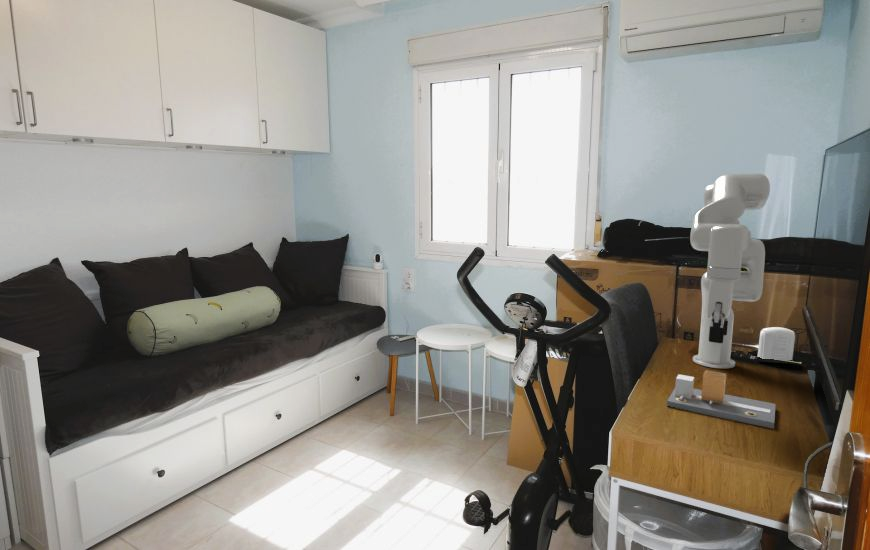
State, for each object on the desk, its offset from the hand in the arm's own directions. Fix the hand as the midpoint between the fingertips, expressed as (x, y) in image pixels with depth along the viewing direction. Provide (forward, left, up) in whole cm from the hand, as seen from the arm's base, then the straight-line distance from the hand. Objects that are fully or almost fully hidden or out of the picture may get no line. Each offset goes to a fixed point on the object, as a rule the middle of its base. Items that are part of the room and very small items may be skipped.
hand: (717, 338), depth 134 cm
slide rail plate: (0, +2, -19) cm, 19 cm away
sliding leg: (+1, 0, -17) cm, 17 cm away
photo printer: (-53, +13, -19) cm, 58 cm away
